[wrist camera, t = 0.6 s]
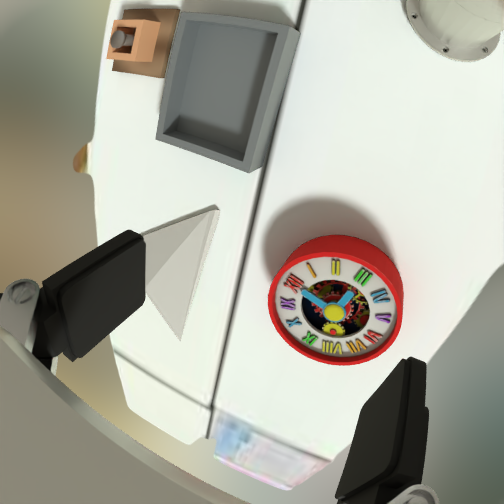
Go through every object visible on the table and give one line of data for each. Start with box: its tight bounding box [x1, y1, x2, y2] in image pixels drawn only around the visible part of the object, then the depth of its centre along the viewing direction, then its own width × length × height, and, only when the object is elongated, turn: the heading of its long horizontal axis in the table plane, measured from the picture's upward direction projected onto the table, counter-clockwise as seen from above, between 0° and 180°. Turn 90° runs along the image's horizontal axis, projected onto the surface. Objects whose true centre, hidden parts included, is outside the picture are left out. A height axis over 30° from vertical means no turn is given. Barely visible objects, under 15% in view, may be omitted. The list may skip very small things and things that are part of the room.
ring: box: [106, 20, 161, 62], centre depth 40 cm, size 7×7×4 cm
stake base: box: [110, 9, 180, 78], centre depth 39 cm, size 12×12×7 cm
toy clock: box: [268, 235, 404, 365], centre depth 46 cm, size 20×6×20 cm
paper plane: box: [143, 210, 220, 341], centre depth 58 cm, size 26×28×4 cm
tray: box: [156, 12, 301, 173], centre depth 39 cm, size 20×16×4 cm
